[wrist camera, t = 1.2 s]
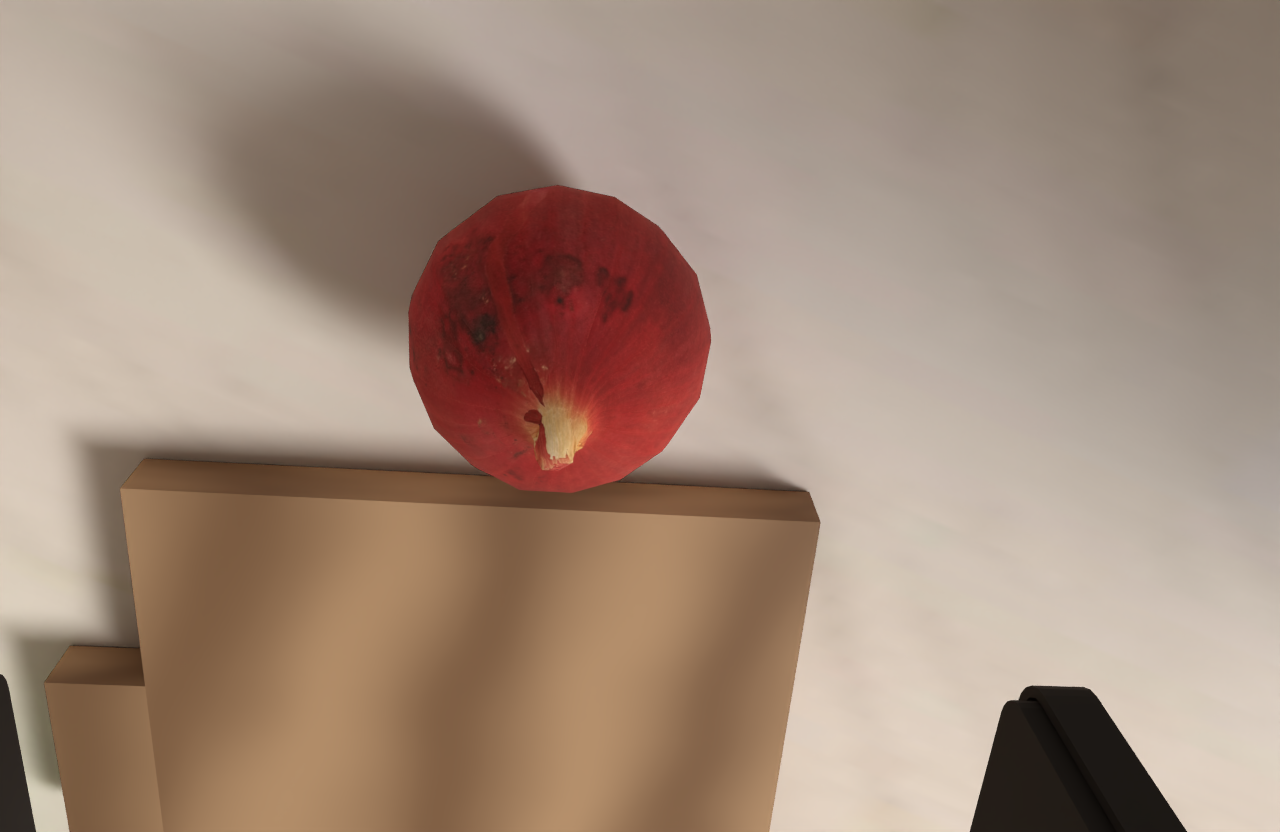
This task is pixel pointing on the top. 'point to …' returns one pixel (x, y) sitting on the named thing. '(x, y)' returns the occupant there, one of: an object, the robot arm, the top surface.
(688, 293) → the onion
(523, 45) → the top surface
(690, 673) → the board
